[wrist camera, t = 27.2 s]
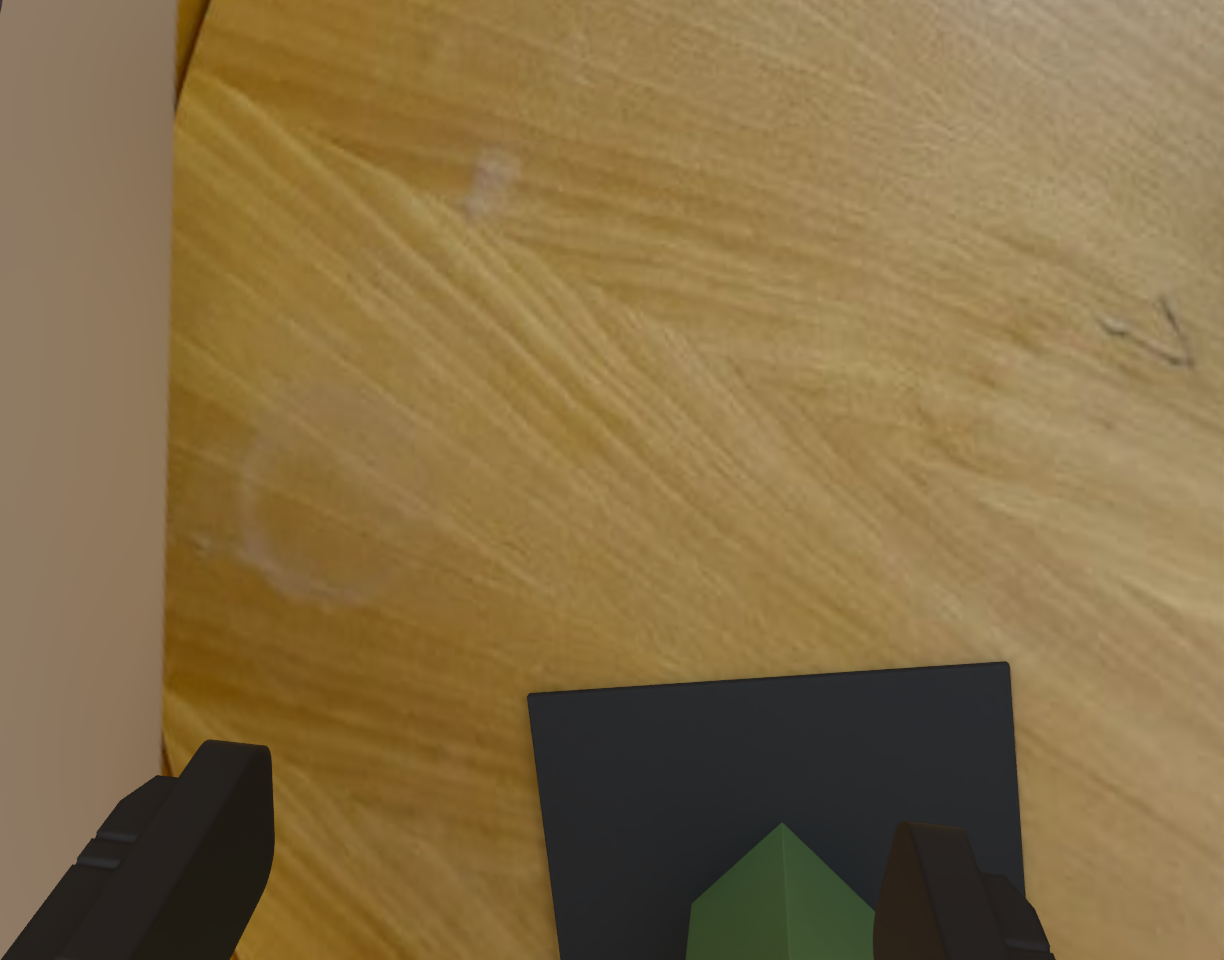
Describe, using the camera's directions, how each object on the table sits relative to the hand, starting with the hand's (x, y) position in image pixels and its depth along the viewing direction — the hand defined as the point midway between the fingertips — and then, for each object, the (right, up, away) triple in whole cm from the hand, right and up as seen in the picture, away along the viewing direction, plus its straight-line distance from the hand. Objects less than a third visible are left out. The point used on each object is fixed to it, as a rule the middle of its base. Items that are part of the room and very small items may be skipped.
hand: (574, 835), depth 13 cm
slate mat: (+7, -12, +27) cm, 31 cm away
